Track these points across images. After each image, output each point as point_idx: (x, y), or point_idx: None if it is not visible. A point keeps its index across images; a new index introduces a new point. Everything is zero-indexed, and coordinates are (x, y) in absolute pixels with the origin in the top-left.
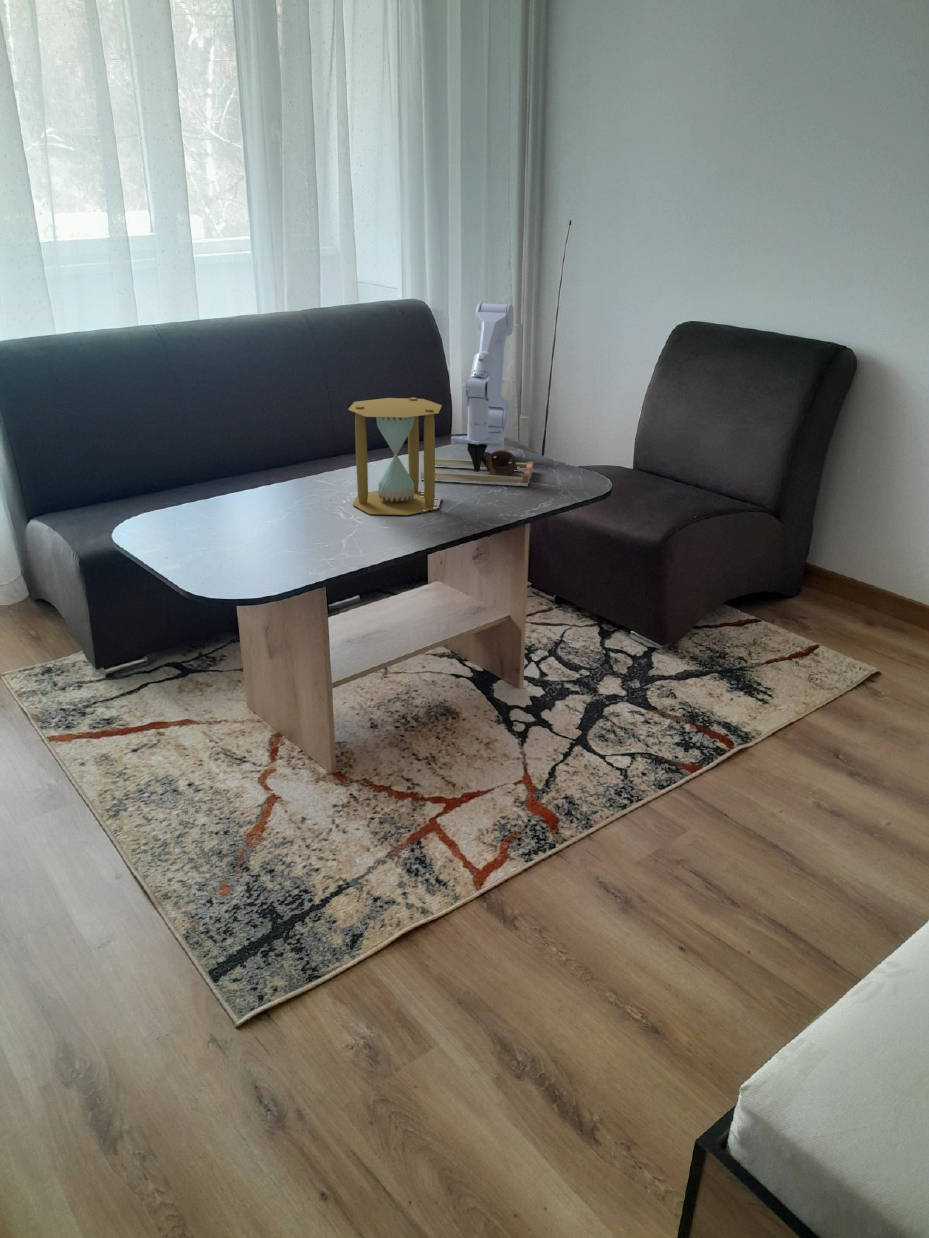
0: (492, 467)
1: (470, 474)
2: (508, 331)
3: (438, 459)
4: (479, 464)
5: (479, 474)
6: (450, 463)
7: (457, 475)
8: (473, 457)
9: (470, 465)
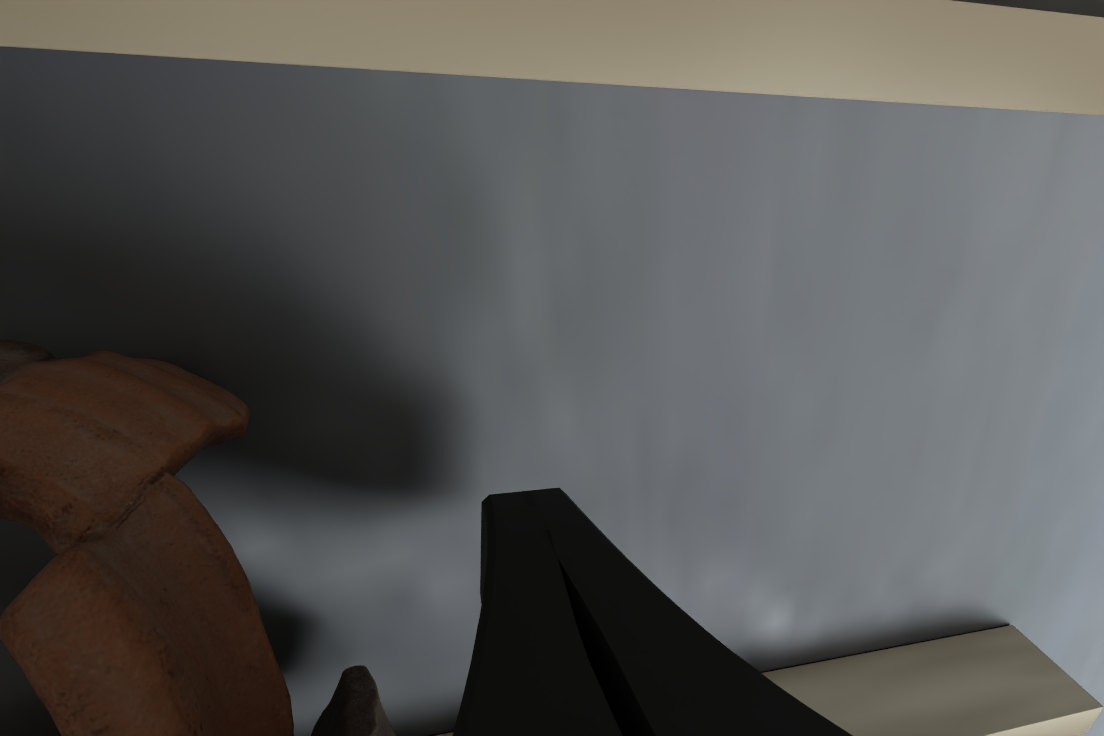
0: (66, 526)
1: (650, 28)
2: None
3: (1026, 722)
4: (490, 594)
5: (392, 67)
6: (871, 711)
7: (940, 5)
8: (723, 707)
9: None
